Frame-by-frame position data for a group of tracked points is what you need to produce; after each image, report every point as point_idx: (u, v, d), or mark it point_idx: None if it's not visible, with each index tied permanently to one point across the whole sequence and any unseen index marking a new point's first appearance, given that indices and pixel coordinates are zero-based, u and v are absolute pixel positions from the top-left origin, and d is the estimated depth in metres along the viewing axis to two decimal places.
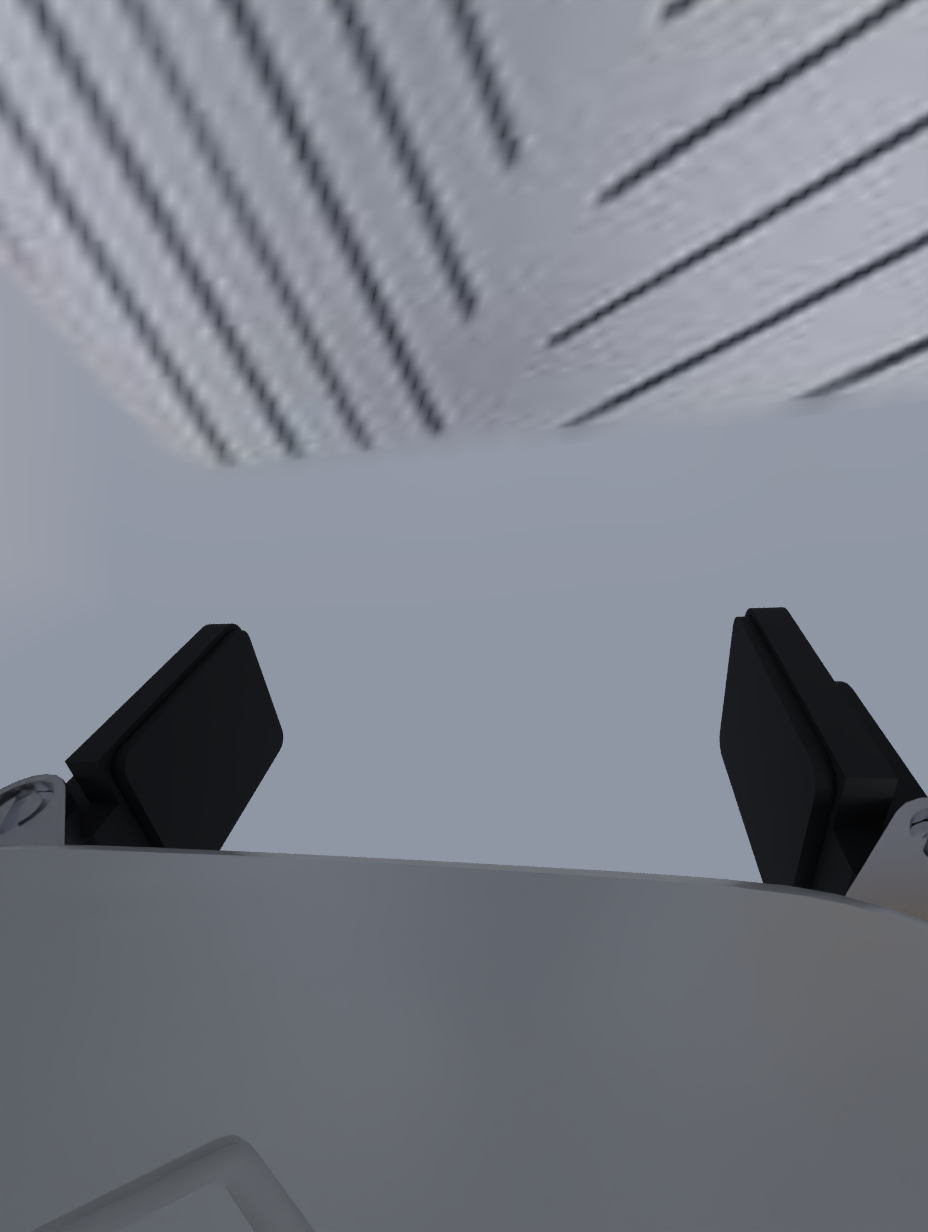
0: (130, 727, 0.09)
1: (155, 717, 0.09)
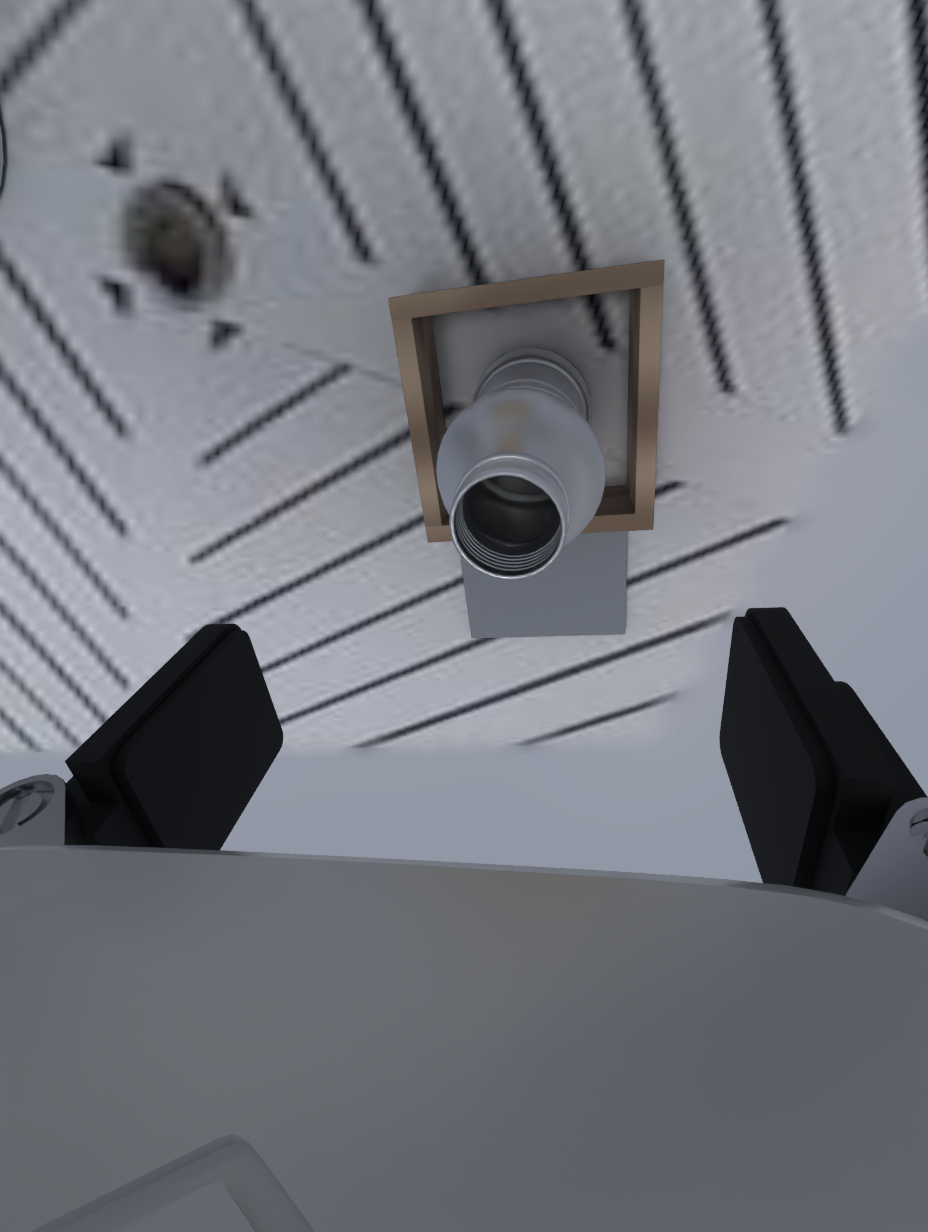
0: (130, 727, 0.09)
1: (155, 717, 0.09)
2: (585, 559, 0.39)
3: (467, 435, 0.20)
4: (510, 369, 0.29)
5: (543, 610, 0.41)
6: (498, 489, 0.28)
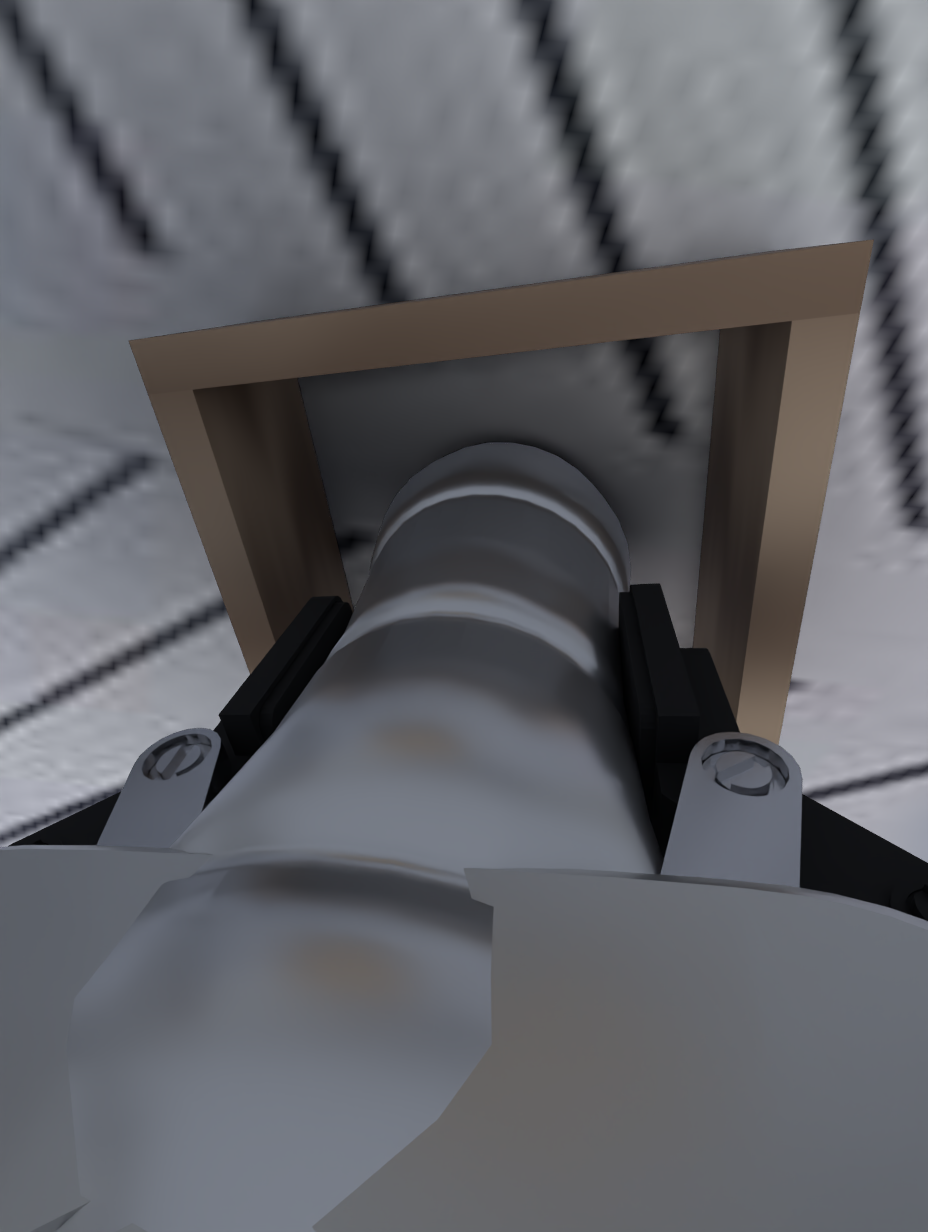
0: (271, 684, 0.09)
1: (289, 677, 0.09)
2: None
3: None
4: (437, 522, 0.11)
5: None
6: None
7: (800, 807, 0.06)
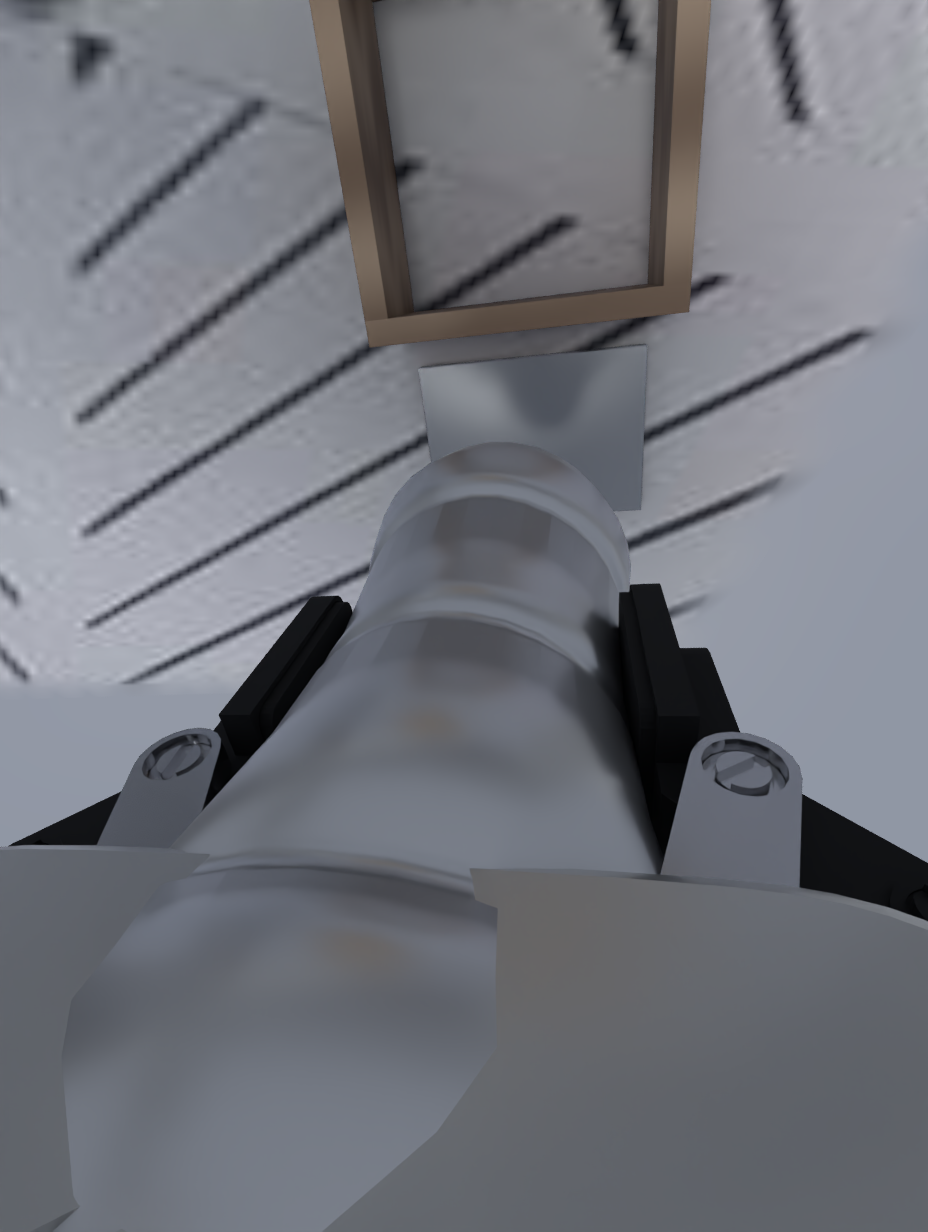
0: (271, 685, 0.09)
1: (289, 677, 0.09)
2: (589, 397, 0.29)
3: None
4: (436, 522, 0.11)
5: None
6: None
7: (800, 807, 0.06)
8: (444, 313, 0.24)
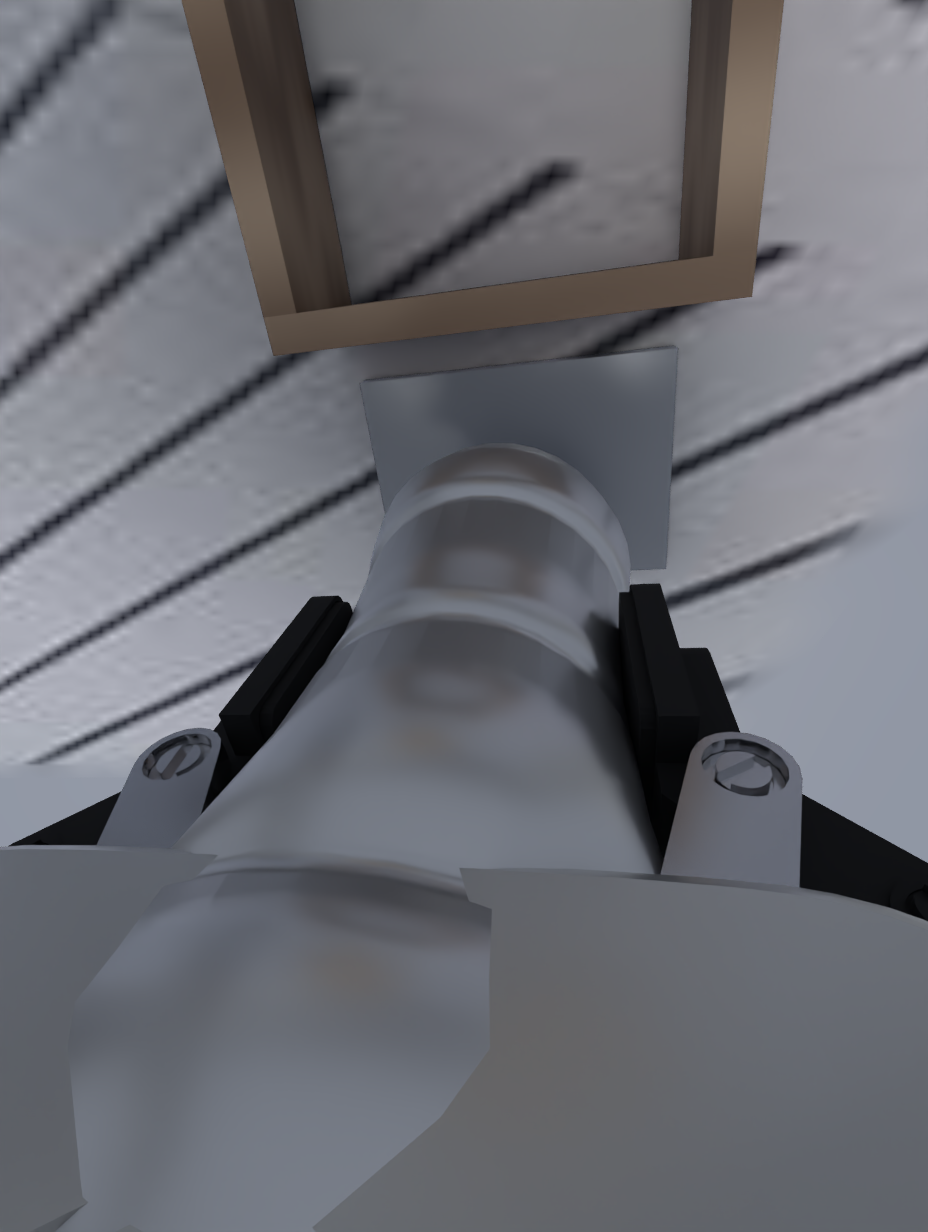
0: (271, 685, 0.09)
1: (289, 677, 0.09)
2: (596, 420, 0.21)
3: None
4: (436, 523, 0.11)
5: None
6: None
7: (800, 807, 0.06)
8: (379, 304, 0.16)
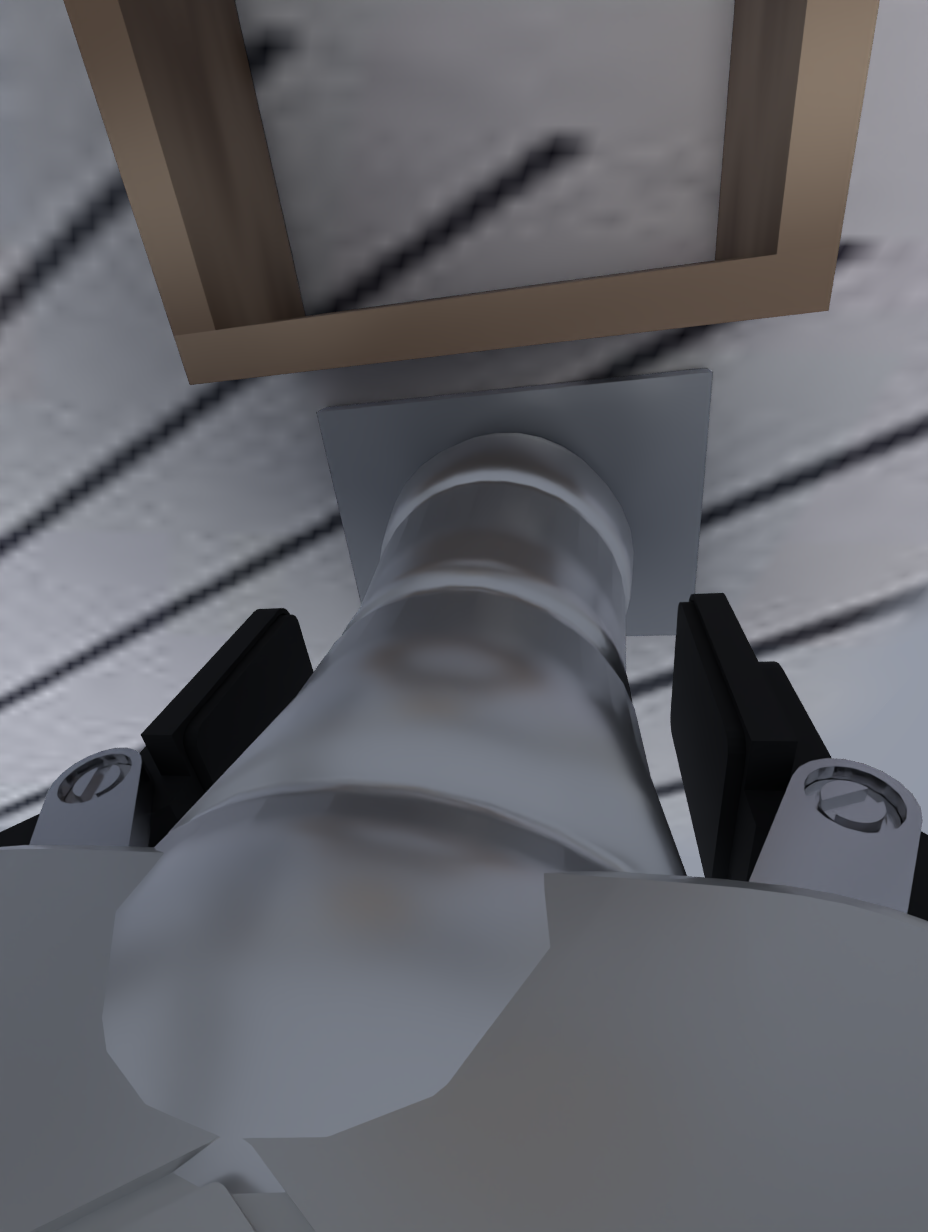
0: (199, 703, 0.09)
1: (220, 694, 0.09)
2: (608, 460, 0.17)
3: None
4: (447, 506, 0.12)
5: None
6: None
7: (915, 851, 0.06)
8: (322, 318, 0.12)
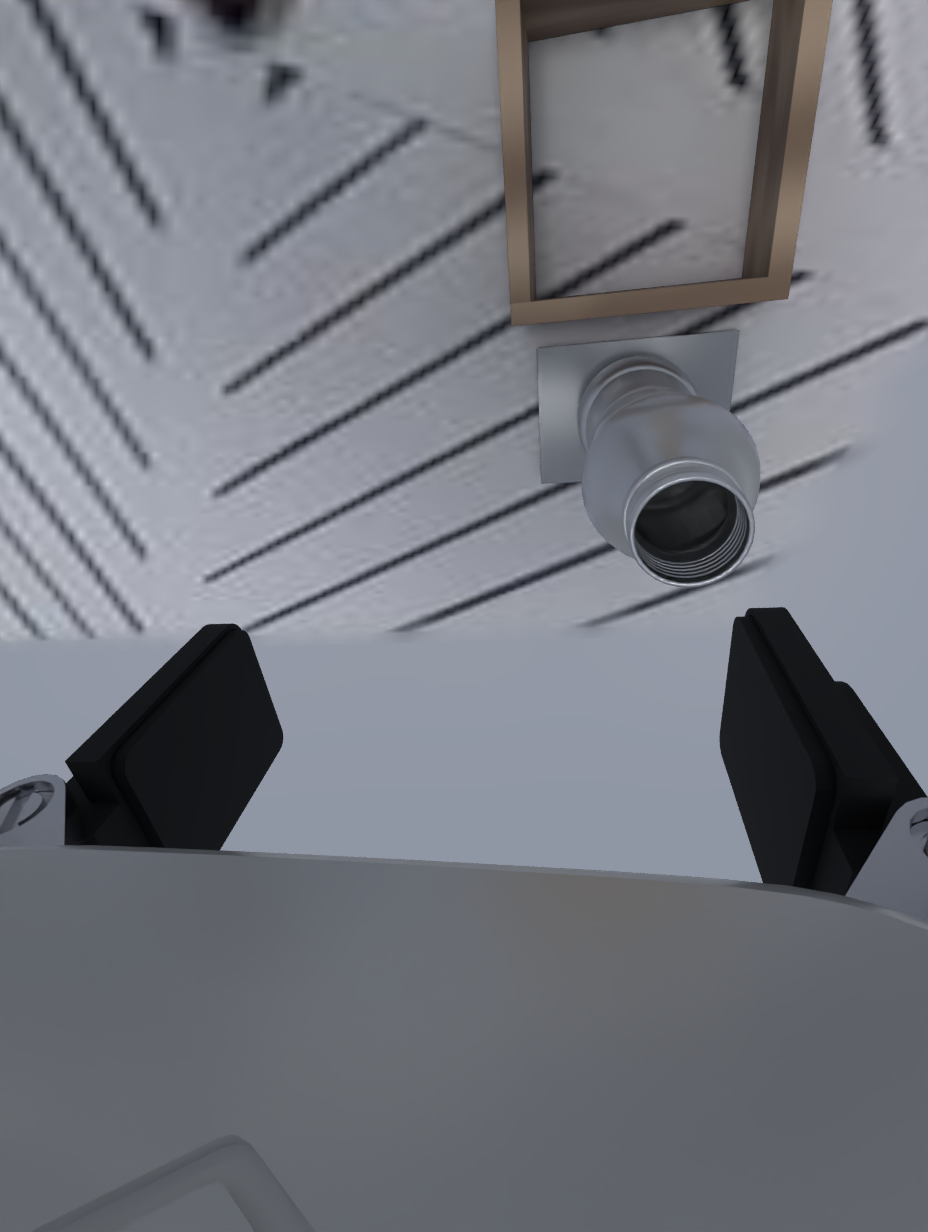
0: (130, 727, 0.09)
1: (155, 717, 0.09)
2: None
3: (631, 439, 0.20)
4: (631, 376, 0.28)
5: None
6: None
7: None
8: (579, 298, 0.29)
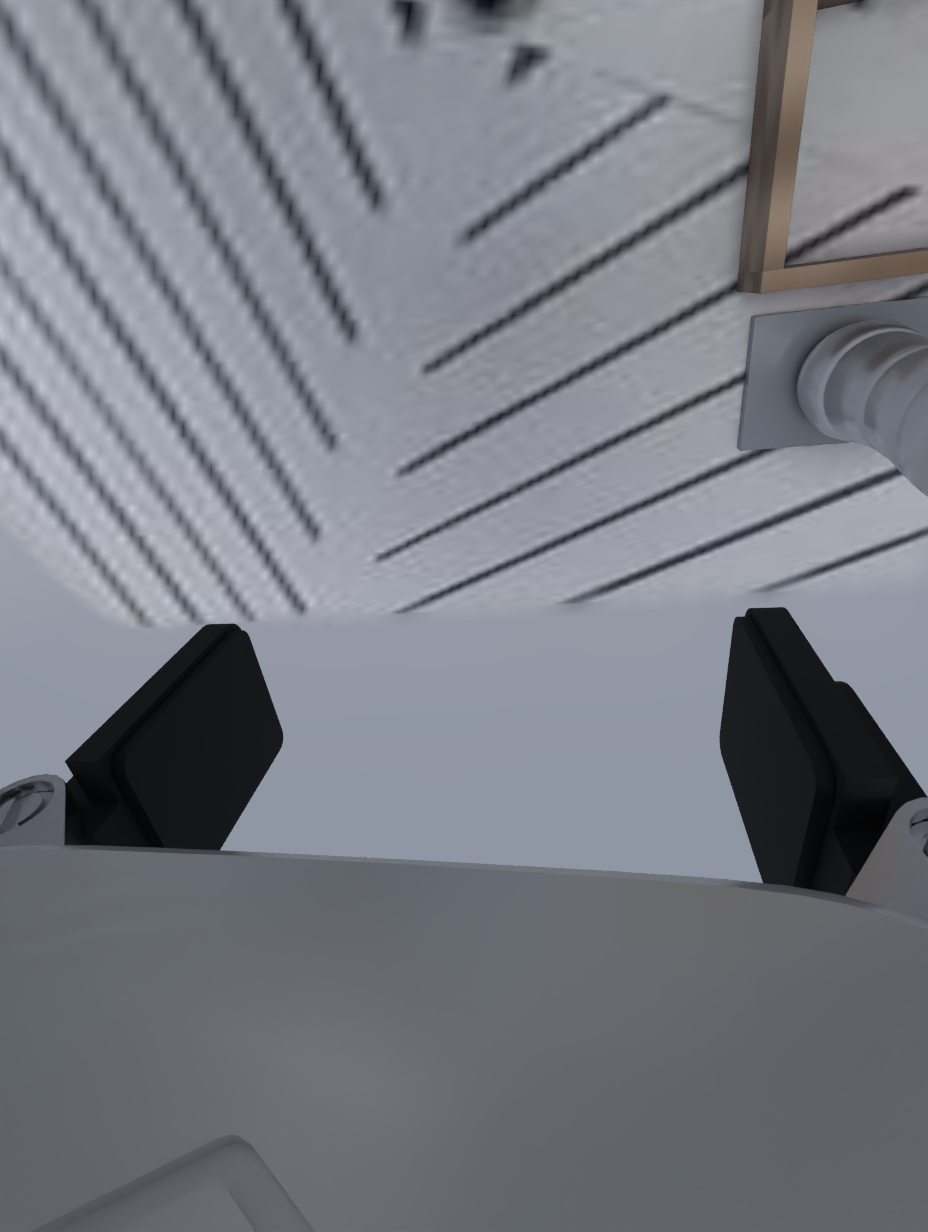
0: (129, 727, 0.09)
1: (155, 717, 0.09)
2: None
3: None
4: (887, 337, 0.30)
5: None
6: None
7: None
8: (834, 263, 0.30)
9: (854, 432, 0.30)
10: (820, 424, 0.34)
